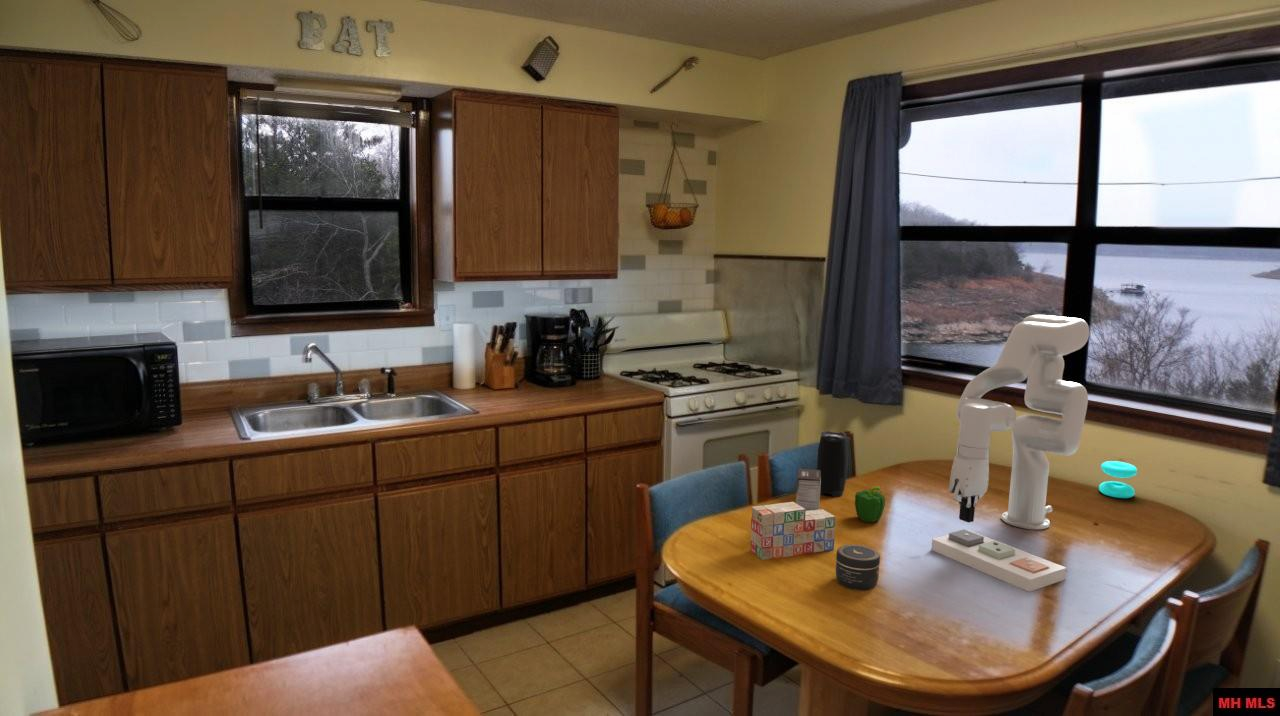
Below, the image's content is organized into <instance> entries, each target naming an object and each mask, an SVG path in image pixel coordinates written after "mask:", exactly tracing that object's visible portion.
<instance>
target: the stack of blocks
mask: <svg viewBox="0 0 1280 716" xmlns="http://www.w3.org/2000/svg"><path fill="white" fill-rule="evenodd" d="M750 519H751V520H750V523H751V525H750V552H752V553H753V554H754V555H755V556H756V557H757V558H759V559H760V560H770V559H769V558H771V559H778V557H779V558H784V557H793V556H798V555H799V554H800V555H804V554H805V553H807V554H811V553H812V552H813V553H819V552H820V553H821V552H828V551H834V550H835V537H836V536H835V534H836V515H833V514H832V513H830V512H828V511H826V510H824V509H823V508H821V509H820V508H819V510H810V511H806V509H805V508H803V507H801V506H799V505H798V504H796V502H794V501H789V502H780V503H774V504H772V503H771V504H763V505H756V506H755V505H754V506H752V507H751V518H750ZM800 555H799V556H800ZM805 555H806V554H805Z"/></svg>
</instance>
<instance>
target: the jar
mask: <svg viewBox="0 0 1280 716" xmlns="http://www.w3.org/2000/svg"><path fill="white" fill-rule="evenodd" d="M880 557H881V555H880V553H879V552H878V551H877V550H876V549H874V548H872V547H869V546H866V545H863V544H845V545H841V546H839V547H838V548H837V551H836V556H835V561H836V562H835V577H836V580H837V582H838V583H839V584H840V585H841V586H843V587H845V588H848V589H849V590H850V589H851V590H856V591H870V590H872V589H874V588H875V586H876V585H877V583H878V581H879V574H880V572H879V571H880V564H881V558H880Z"/></svg>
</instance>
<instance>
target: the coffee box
mask: <svg viewBox="0 0 1280 716" xmlns="http://www.w3.org/2000/svg"><path fill="white" fill-rule="evenodd" d="M796 475H797V477H796V478H797V479H796V494H795V497H796V498H795V503H796V504H798V505H799V506H801V507H803V508H805V509H806V511H810V510H819V509H820V502H821V499H820V498H821V494H820V486H821V471H820V470H817V469H808V468H807V469H806V468H805V469H804V468H797V474H796Z"/></svg>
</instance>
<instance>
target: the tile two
mask: <svg viewBox="0 0 1280 716" xmlns="http://www.w3.org/2000/svg"><path fill="white" fill-rule="evenodd" d="M996 541H997V540H996ZM996 541H992V542H988V543H985V544H981V545H979V549H978V551H979V552H981V553H984V554H986V555H989V556H991V557H994V558H996V559H999V560H1001V559H1005V558H1008V557H1011V556H1015V549H1014V548H1015V547H1014V548H1011V547H1012V546H1011V547H1009V546H1010V545H1009V546H1006V545H1007V544H1006V545H1004V544H1005V543H1003V544H1001V543H1002V542H1001V543H998V542H999V541H998V542H996Z"/></svg>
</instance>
